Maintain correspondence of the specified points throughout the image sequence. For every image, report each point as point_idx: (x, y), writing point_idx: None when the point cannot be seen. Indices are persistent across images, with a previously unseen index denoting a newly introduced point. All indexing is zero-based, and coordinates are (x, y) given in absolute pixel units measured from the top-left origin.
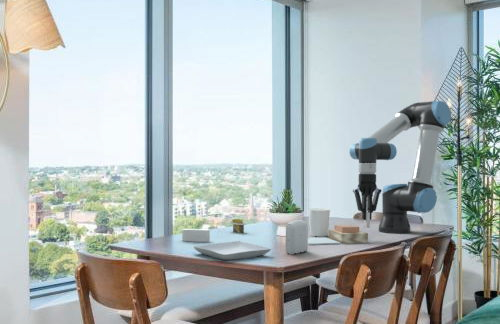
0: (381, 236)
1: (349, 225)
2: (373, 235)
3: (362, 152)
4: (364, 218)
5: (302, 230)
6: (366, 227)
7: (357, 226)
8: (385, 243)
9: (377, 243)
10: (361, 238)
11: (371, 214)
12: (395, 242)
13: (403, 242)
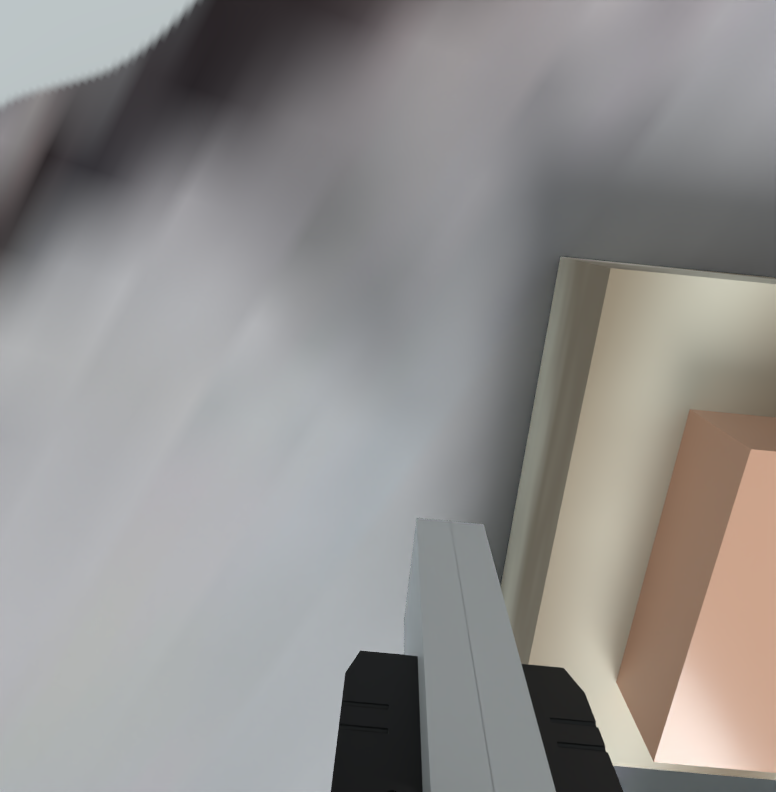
0: (70, 671)
1: (771, 683)
2: (130, 755)
3: None
4: (561, 695)
5: None
6: (484, 530)
7: (740, 515)
8: (341, 107)
9: (462, 148)
10: (695, 272)
11: (336, 780)
12: (133, 154)
13: (7, 113)
